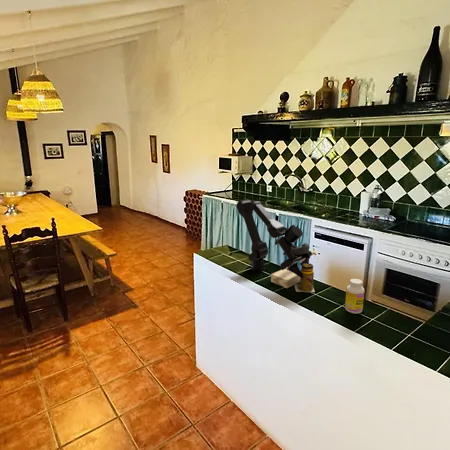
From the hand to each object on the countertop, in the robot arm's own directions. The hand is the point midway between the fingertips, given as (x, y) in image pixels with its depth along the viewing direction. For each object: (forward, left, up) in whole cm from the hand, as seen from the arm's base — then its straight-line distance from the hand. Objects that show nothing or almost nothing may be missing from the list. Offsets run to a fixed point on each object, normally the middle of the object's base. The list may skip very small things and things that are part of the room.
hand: (306, 275), depth 148 cm
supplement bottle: (+25, -2, -7) cm, 26 cm away
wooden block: (-11, 0, -7) cm, 13 cm away
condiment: (-1, -1, -7) cm, 7 cm away
